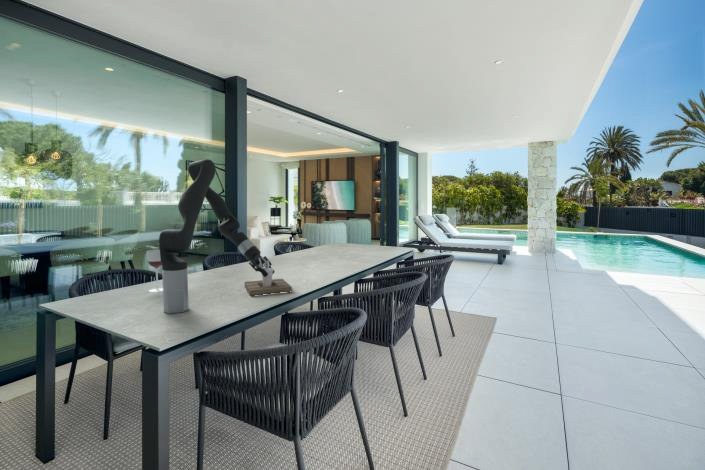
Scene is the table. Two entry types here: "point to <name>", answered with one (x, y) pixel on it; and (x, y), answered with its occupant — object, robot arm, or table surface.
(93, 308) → the table surface
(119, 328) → the table surface
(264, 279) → the smoothie
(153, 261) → the wineglass
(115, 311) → the table surface
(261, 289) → the caddy
